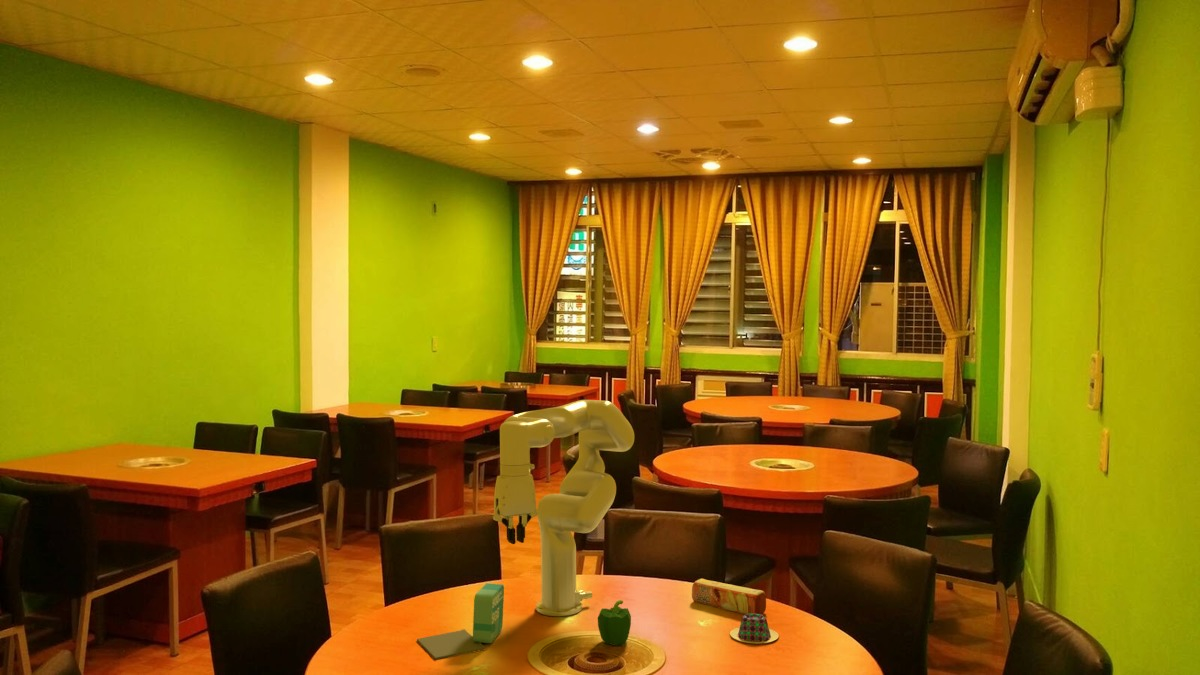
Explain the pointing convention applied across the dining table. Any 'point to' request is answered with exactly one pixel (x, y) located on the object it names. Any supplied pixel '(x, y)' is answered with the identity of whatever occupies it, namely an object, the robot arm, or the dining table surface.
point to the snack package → (729, 597)
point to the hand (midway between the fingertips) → (516, 541)
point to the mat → (450, 644)
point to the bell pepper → (614, 624)
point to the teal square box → (488, 613)
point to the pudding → (754, 630)
